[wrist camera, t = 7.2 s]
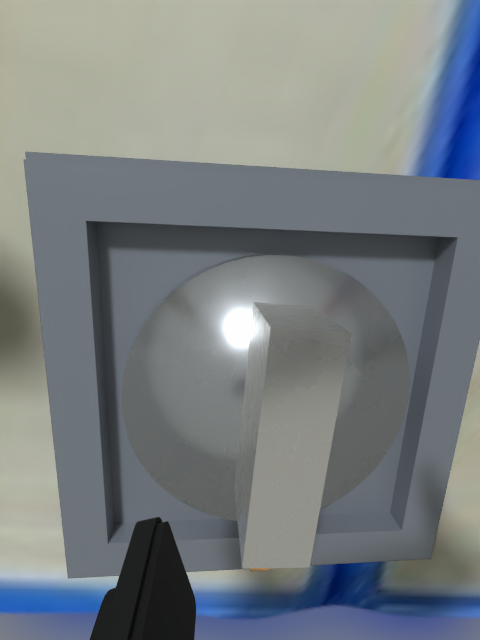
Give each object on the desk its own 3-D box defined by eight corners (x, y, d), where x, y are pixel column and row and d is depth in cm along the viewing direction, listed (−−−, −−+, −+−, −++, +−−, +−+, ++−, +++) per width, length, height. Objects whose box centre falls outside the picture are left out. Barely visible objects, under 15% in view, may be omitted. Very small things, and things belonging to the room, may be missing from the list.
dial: (130, 240, 14) (85, 241, 9) (421, 267, 15) (525, 281, 10) (126, 501, 17) (90, 614, 12) (369, 504, 18) (429, 606, 13)
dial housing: (475, 186, 16) (531, 176, 13) (409, 524, 21) (440, 569, 18) (44, 160, 14) (3, 141, 11) (79, 538, 19) (56, 591, 16)
